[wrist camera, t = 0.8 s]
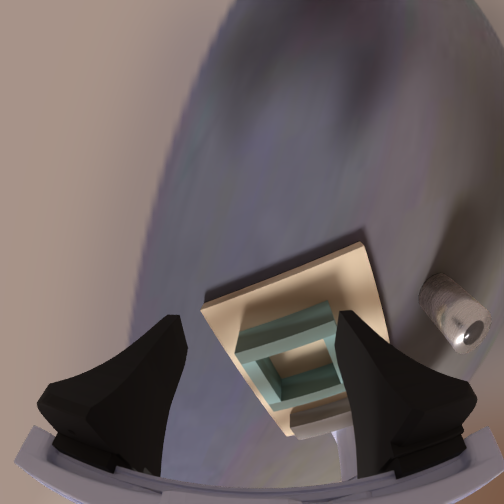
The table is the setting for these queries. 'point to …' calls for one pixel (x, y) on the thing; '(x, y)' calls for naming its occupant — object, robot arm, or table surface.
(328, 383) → the jig
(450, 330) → the bushing
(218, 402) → the table surface
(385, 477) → the robot arm
